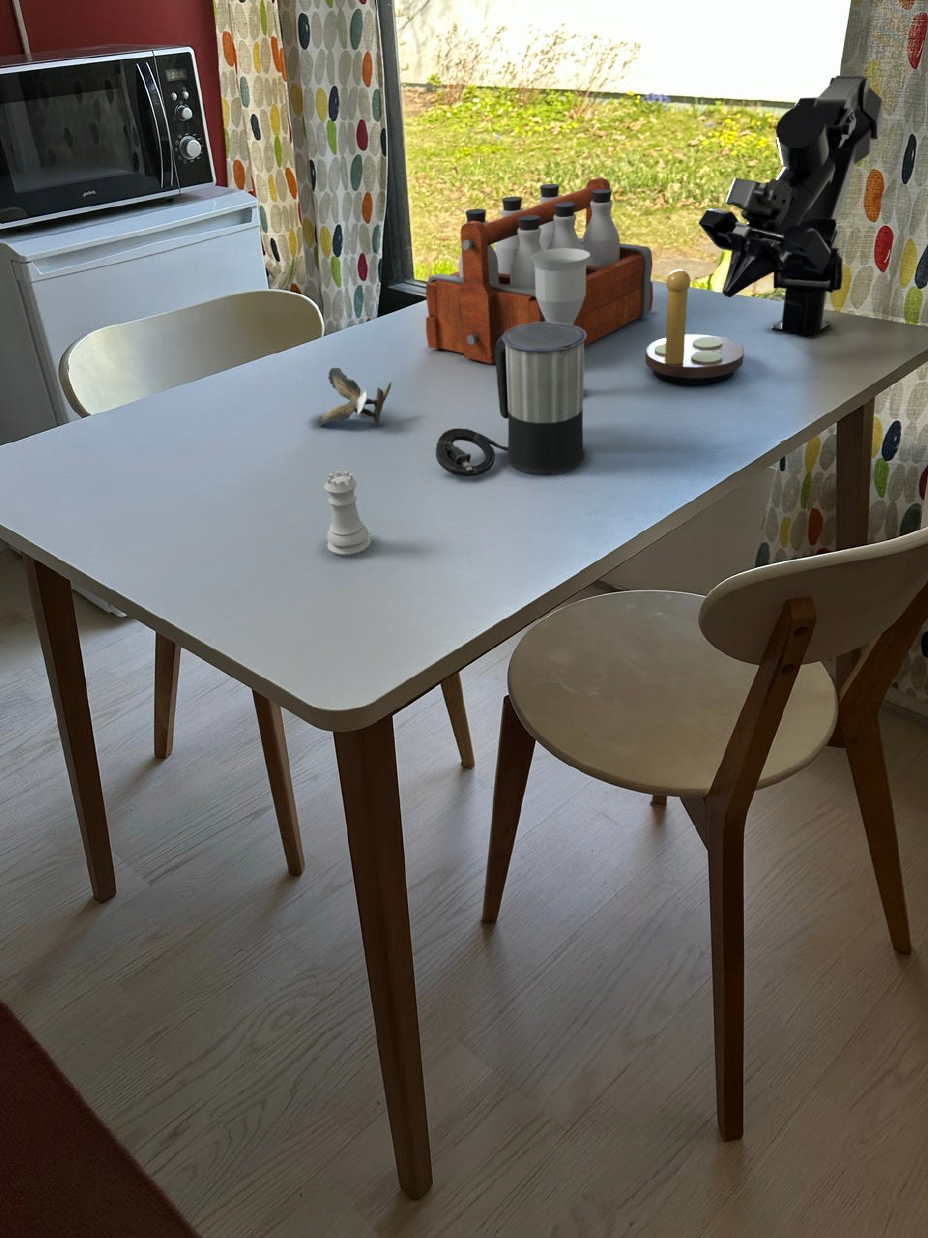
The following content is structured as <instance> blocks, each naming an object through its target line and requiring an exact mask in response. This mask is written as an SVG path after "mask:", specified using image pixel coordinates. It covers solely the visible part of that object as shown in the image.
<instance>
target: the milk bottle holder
mask: <svg viewBox="0 0 928 1238" xmlns="http://www.w3.org/2000/svg"><path fill="white" fill-rule="evenodd" d="M539 189H540V196H539V198H538V199H539V203H538V204H536V205H533V206H531V207H528V208H526V209H524V208H523V207H522V202H523V197H521V196H507V197H503V198H502V199H501V200H502V206H503V208H502V209H501V215H502V217H499V218H497V219H495V220H492V221H488V220H487V219H486V216H487V209H485V208H472V209H467V210H466V211H465V216H466V217H465V218H466V221H465V223H463V225H461V228H460V243H461V244H460V245H461V254H460V256H459V259H458V260H459V261H458V269H459V270H458V271H456V272H453V273H451V274H445V273H436V274H434V275H431V276H429V277H428V279H427V283H426V286H425V299H426V305H427V313H428V316H426V317H425V334H426V340H427V345H428V346H427V347H428V348H431V349H436V350H437V349H441V350H445V351H451V352H454V353H459V354H463V358H464V359H465V358H466V359H470V360H472V361H473V360H474V361H477V362H478V361H479V362H483V363H486V364H493V363H496V360H495V349H496V344H497V341H498V339H499V338H500V337H501V336H503V334H504V333H505V332H506V331H507V330H509V329H511V328H513V327H516V326H519V325H523V324H529V323H533V322H547V321H546V320H545V318H544V316H543V314H542V312H541V309H540V307H539V304H538V301H537V298H536V290H535V264H534V263H533V261H532V259H531V255H532V254H534V253H536V252H539V251H543V250H549V249H559V248H571V249H580V250H585V251H587V252H589V253H590V256H589V258H588V260H587V262H586V295H585V297H584V300H583V303H582V306H581V309H580V311H579V313H578V315H577V317H576V319H575V322H574V324H573V325H575V326H577V327H580V328H581V329H583V330H584V331H585V332H586V334H587V337H586V339H585V341H584V347H585V346H587V345H588V344H591V343H593V342H594V341H597V340H598V339H600V338H602V337H604V336H606V335H608V334H609V333H612V332H613V331H615V330H617V329H619V328H621V327H624V326H625V325H627V324H628V323H630V322H632V321H634V320H640V319H643V318H644V317H646V316H648V315H649V314H650V312H651V311H652V308H653V300H654V288H653V287H654V286H653V281H652V271H653V264H654V263H653V255H652V250H651V249H650V247H648V246H646V245H639V244H631V243H630V244H629V243H623V242H621V241H620V240H621V239H620V234H619V233H620V232H619V230H618V229H617V227H616V225H615V222H614V220H613V217H612V213H611V212H612V207H613V204H614V203H613V200H611V198H612V189H611V184H610V182H609V180H608V179H606V178H605V177H594V178H592V179H590V180H589V181H587V183H586V187H585V188H581V189H579V190H576V191H573V192H570V193H567V194H564V195H562V196H561V195H560V194H559V192H560V191H559V190H560V184H556V183H546V184H542V185H540V186H539ZM583 210H585V230H584V233H583V235H582V237H579V236H578V234H577V232H576V227H575V226H576V220H577V214H576V213H578V212H580V211H583ZM493 244H495V249H494V247H493Z"/></svg>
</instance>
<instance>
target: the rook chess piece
mask: <svg viewBox="0 0 928 1238" xmlns="http://www.w3.org/2000/svg"><path fill="white" fill-rule="evenodd" d="M334 475H335V476H334ZM326 480H327V481H326V483H325V484H324V490H325V491H326V492H327V493H328V494H329V495H330V496H329V498H328V503H329V504H330V505H331V524H330V525H329V530H328V531H327V534H326V539H327V544H326V546H327V549H328V550H329V551H330V552H331V553H332V554H334V555H335V556H338V557H354V556H358V555H360V554H362V553H364V552H365V551H366V550H368V548H369V546H370V544H371V541H372V540H371V538H370V536H369V535H370V533H369V530H368V528H367V526H366V525H365V524H364V521H362V520H361V518H360V516H359V512H358V509H357V503H356V501H357V499H358V496H357V495H356V494H355V490H356V488H357V487H358V481H356V479H355V478H354V477H353V474H352V473H351V472H349V471H347V470H344V471H343V474H341V471H340V470H338V471H337V470H336V471H334V474H333V473H329V474H327V477H326Z"/></svg>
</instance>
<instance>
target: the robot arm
mask: <svg viewBox="0 0 928 1238" xmlns="http://www.w3.org/2000/svg"><path fill="white" fill-rule="evenodd" d="M828 85H829V86H827V87H826V88H825V89H824V90H823V91H822V92H821V93H820V94H819V95H818V96H814V97H800V98H799V99H798V100H797V102H796V103H795V105H794V107H792V108H790V109H789V110H787V111H786V112H784V114H783V115H782V116H781V117H780V119H779V120H778V121H777V123H776V127H775V135H776V139H777V145H778V149H779V157H780V160H781V165H782V166H783V168H782V170H781V172H780V173H779V175H778V176H777V178H771V179H770V180H769V181H767V182H760V181H756V180H751V179H746V178H740V177H734V179H733V182H732V184H731V187H730V190H729V192H728V195H727V198H726V200H725V205H728V206H733V207H736V208H738V209H740V210H742V211H741V212H740V216H741V217H742V218H743V219H744V220H745V221H747V223H746V222H742V221H740V220H739V219H738V218H737V216H736V215H735V214H734V212H733V211H730V210H725V209H722V208H721V209H720V208H716V207H712V208H708V209H706V211H705V212H704V213H703V215H702V216H701V218H700V220H699V221H698V225H699V226H700V227H701V229H702V230H703V231H704V233H705V234H706V235H707V236H708V238H709V239H710V240H711V241H712V243H713V244H714V245H715V246H716V247H717V248H719V249H721V250H724V251H728V252H731V255H730V261H729V264H728V269H727V273H726V276H725V280H724V283H723V287H722V290H721V291H722V294H723V296H724V297H727V298H732V297H734V296H735V295H737V294H738V293H740V292H741V291H743V290H745V289H746V288H748V287H749V286H751V285H752V284H754V283H756V282H758V281H760V280H762V279H763V278H765V277H768V276H769V275H771V274H773V289H784V298H783V306H782V316H781V320H780V321H779V322H776V323H775V324H774V325H772V326H771V330H772V331H775V332H780V333H784V334H785V333H786V334H791V335H797V336H800V337H801V336H802V337H806V338H807V337H808V338H813V337H815V336H817V335H818V334H820V333H822V332H823V331H825V330H827V329H828V328H830V327H831V326H832V322H831V321H828V320H827V321H826V320H823V319H824V313H825V312H824V311H825V303H826V294H827V293H831V294H833V293H834V292H835V291H840V290H841V289H842V284H843V278H844V260H843V259H844V258H842V255H841V249H840V247H838V236H839V234H838V233H839V231H838V229H837V220H838V217H839V213H840V211H841V207H842V204H843V201H844V198H845V195H846V192H847V189H848V187H849V183H850V180H851V177H852V173H853V170H854V168H855V165H856V164H857V163H859V162H860V161H862V160H863V159H864V158H866V157H868V156H869V155H870V153H871V152H872V149H873V146H874V143H875V140H879V138H880V137H881V131H882V126H883V118H884V112H883V111H884V110H883V99H882V98H881V97H880V96H879V94H877V93H876V91H874V90H873V89H872V88H871V86H870V78H869V76H865V75H864V74H860V75H859V74H852V75H851V74H849V75H847V74H846V75H841V74H837V75H836V76H835V77H831V79H830V81H829V84H828Z"/></svg>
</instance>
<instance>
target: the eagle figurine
mask: <svg viewBox="0 0 928 1238" xmlns="http://www.w3.org/2000/svg"><path fill="white" fill-rule="evenodd" d="M327 379H328V380H329V384H331V385H332V386H331V387H332V388H333V389H335V390H336V391H337V393H338V394H339V395H340V396H341V397H343V398H345V399H347V400H349V401H348V402H347V403H344V404H341V405H337V406H334V407H331V408H330V409H328V410H327V411H326V413H324V415H323V416H320V417H319V418H318V419H317V420H316V424H317V426H323V425H326V424H327V423H331V422H336V421H337V422H342V421H345V420H348V419H349V418H351V415H353V413H356V415H357V416H361V417H363V416H364V415H365V416H367V417H371V418H373V420H374V422H375V424H376V425H377V427H379V426H380V425H381V422H380V418H381V413H382V410H383V406H384V403H385V401H386V400H387V396H388V395H389V393H390V390H391V387H392V382H391V381H390V382H389V383H388V384H387V386H386V387H385V390H383V389H381V388H380V387H377V390H376V398H375V399H371V398H368V391H367V390H364V391H363V393H362V394H361V392H362V390H361V388H360V387H359V384H358V383H357V382H355V380H354V379H350V378H348V377H347V375H346V374H344V372H343V370H342V369H341V368H340V367H332V368H330V370H329V371H328V377H327ZM366 405H368V406H369V405H373V406H374V411H373V412H372V411H371V410H370V409H368V408H365V406H366Z"/></svg>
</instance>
